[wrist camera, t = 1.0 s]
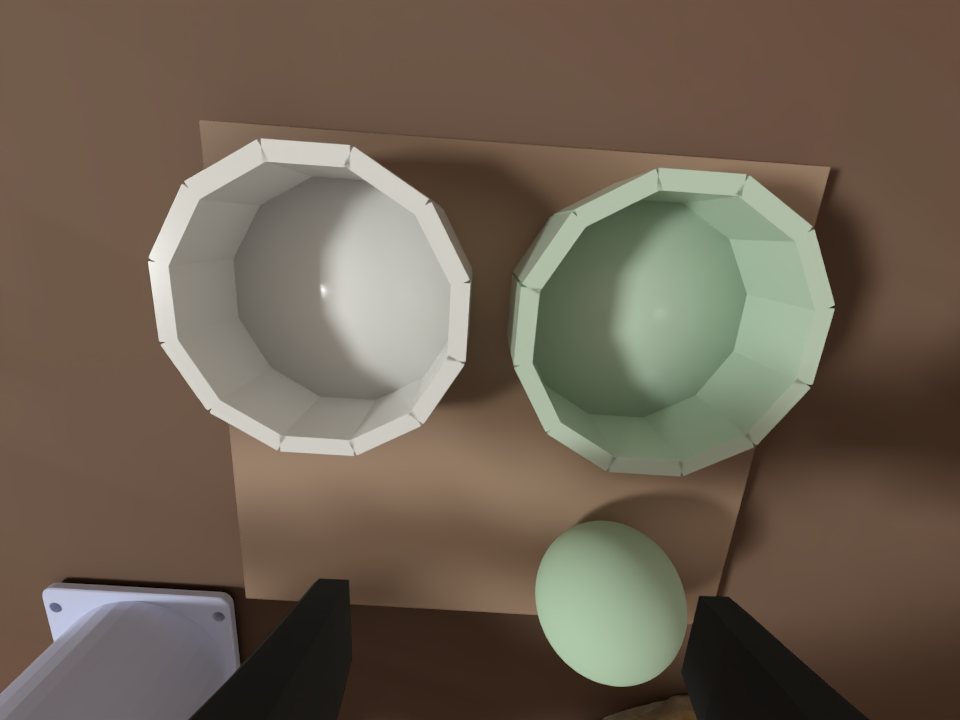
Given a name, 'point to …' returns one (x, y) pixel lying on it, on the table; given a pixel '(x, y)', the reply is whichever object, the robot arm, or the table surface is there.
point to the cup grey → (311, 296)
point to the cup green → (669, 320)
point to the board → (478, 415)
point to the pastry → (659, 710)
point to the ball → (611, 603)
